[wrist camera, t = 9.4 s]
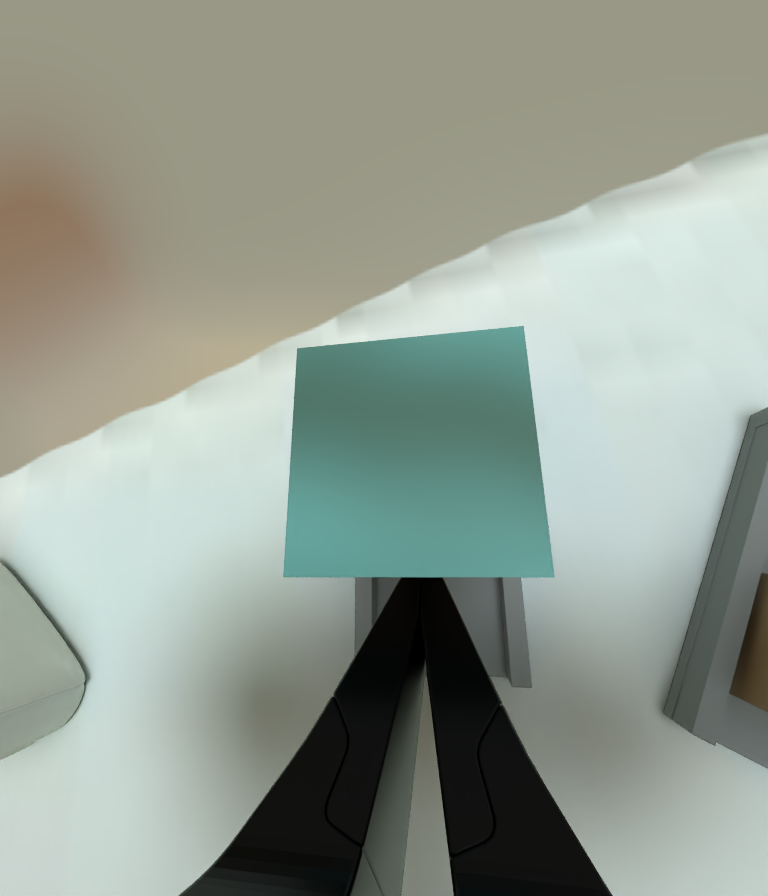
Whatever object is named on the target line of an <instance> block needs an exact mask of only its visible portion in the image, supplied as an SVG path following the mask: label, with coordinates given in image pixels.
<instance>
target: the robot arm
mask: <svg viewBox="0 0 768 896" xmlns="http://www.w3.org/2000/svg"><path fill="white" fill-rule="evenodd" d="M425 663H426V671H427V679H428V687H429V696H430V704H431V712H432V720H433V728H434V737H435V745H436V753H437V761H438V769H439V778H440V786H441V794H442V802H443V810H444V819H445V827H446V835H447V843H448V851H449V860H450V868H451V876H452V884H453V892H454V896H613V895H612V894H611V892H610V891H609V889H608V888H607V886H606V884H605V883H604V881H603V880H602V878H601V877H600V875H599V873H598V872H597V870H596V868H595V867H594V865H593V863H592V862H591V860H590V858H589V857H588V855H587V853H586V852H585V850H584V849H583V847H582V845H581V844H580V842H579V840H578V839H577V837H576V835H575V834H574V832H573V830H572V829H571V827H570V825H569V824H568V822H567V820H566V819H565V817H564V815H563V814H562V812H561V810H560V809H559V807H558V806H557V804H556V802H555V801H554V799H553V797H552V796H551V794H550V792H549V791H548V789H547V787H546V786H545V784H544V782H543V780H542V779H541V777H540V775H539V773H538V771H537V770H536V768H535V766H534V764H533V763H532V761H531V759H530V757H529V756H528V754H527V752H526V750H525V748H524V746H523V744H522V742H521V740H520V738H519V736H518V734H517V732H516V730H515V728H514V726H513V724H512V722H511V720H510V718H509V716H508V714H507V711H506V709H505V707H504V706H503V705H502V701H501V699H500V697H499V695H498V693H497V691H496V689H495V687H494V684H493V682H492V680H491V678H490V676H489V674H488V672H487V670H486V667H485V665H484V663H483V661H482V659H481V657H480V655H479V653H478V651H477V648H476V646H475V644H474V642H473V640H472V638H471V636H470V634H469V631H468V629H467V627H466V625H465V623H464V621H463V619H462V617H461V614H460V612H459V610H458V608H457V606H456V604H455V602H454V600H453V598H452V595H451V593H450V591H449V589H448V587H447V585H446V583H445V581H444V578H443V577H401V578H400V580H399V581H398V583H397V585H396V587H395V588H394V590H393V592H392V593H391V595H390V597H389V599H388V600H387V602H386V604H385V605H384V607H383V609H382V611H381V612H380V614H379V616H378V618H377V619H376V621H375V623H374V624H373V626H372V628H371V630H370V631H369V633H368V635H367V636H366V638H365V640H364V642H363V643H362V645H361V647H360V648H359V650H358V652H357V654H356V655H355V657H354V659H353V660H352V662H351V664H350V666H349V667H348V669H347V671H346V673H345V674H344V676H343V678H342V679H341V681H340V683H339V685H338V686H337V688H336V690H335V691H334V697H335V698H334V697H333V696H332V697H331V698H330V700H329V701H328V703H327V705H326V707H325V708H324V710H323V712H322V713H321V715H320V717H319V718H318V720H317V722H316V723H315V725H314V726H313V728H312V730H311V731H310V733H309V735H308V736H307V738H306V739H305V741H304V742H303V744H302V745H301V747H300V748H299V749H298V751H297V752H296V754H295V755H294V757H293V758H292V760H291V761H290V762H289V764H288V765H287V767H286V768H285V770H284V771H283V772H282V774H281V775H280V776H279V778H278V779H277V781H276V782H275V783H274V785H273V786H272V787H271V789H270V790H269V792H268V793H267V794H266V796H265V797H264V798H263V800H262V801H261V803H260V804H259V805H258V807H257V808H256V810H255V811H254V812H253V814H252V815H251V816H250V818H249V819H248V821H247V822H246V823H245V825H244V826H243V827H242V829H241V830H240V832H239V833H238V834H237V836H236V837H235V838H234V840H233V841H232V842H231V844H230V845H229V846H228V847H227V849H226V850H225V851H224V852H223V853H222V855H221V856H220V857H219V858H218V859H217V860H216V861H215V862H214V864H213V865H212V866H211V867H210V868H209V869H208V870H207V871H206V872H205V873H204V874H203V875H202V876H201V877H200V878H198V879H197V880H196V881H195V882H194V883H193V884H192V885H191V886H189V887H188V888H187V889H186V890H185V891H183V892H182V893H181V894H180V895H179V896H401V892H402V882H403V873H404V863H405V854H406V845H407V835H408V826H409V817H410V807H411V798H412V788H413V779H414V770H415V760H416V751H417V741H418V732H419V723H420V713H421V704H422V694H423V685H424V675H425Z"/></svg>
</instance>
